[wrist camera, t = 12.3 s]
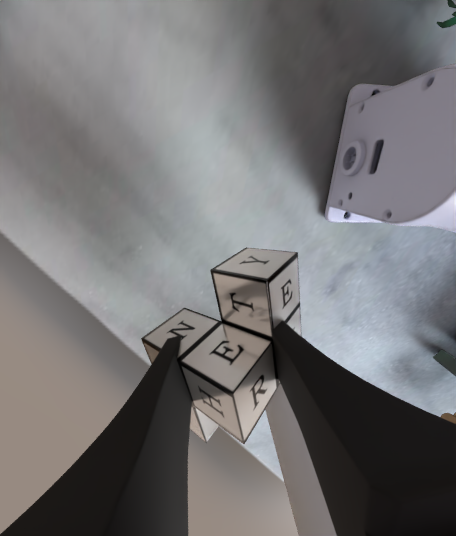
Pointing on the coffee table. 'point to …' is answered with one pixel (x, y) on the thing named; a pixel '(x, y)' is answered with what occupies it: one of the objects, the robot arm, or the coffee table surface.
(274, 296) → the building blocks
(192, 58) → the coffee table surface
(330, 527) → the beverage can
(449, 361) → the drawer
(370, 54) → the coffee table surface
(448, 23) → the toy vehicle
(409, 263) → the coffee table surface
